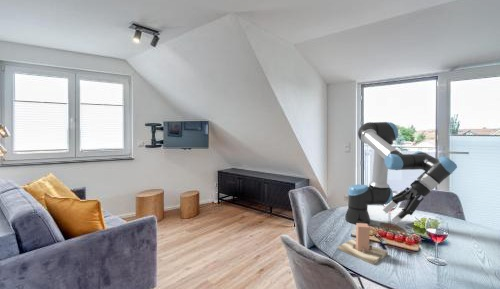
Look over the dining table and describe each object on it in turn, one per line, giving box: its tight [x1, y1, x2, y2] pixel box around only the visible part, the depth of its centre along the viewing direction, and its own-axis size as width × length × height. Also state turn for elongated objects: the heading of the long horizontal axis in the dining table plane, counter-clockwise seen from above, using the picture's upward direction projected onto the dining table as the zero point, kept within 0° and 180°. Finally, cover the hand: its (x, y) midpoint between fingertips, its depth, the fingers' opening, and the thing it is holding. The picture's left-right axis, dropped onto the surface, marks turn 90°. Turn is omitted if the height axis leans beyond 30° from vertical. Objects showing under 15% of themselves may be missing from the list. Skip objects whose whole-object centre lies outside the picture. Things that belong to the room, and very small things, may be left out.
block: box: [355, 223, 371, 252], centre depth 123 cm, size 5×5×12 cm
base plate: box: [337, 238, 389, 265], centre depth 123 cm, size 14×18×4 cm
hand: (388, 216), depth 120 cm, fingers open, 13 cm apart
